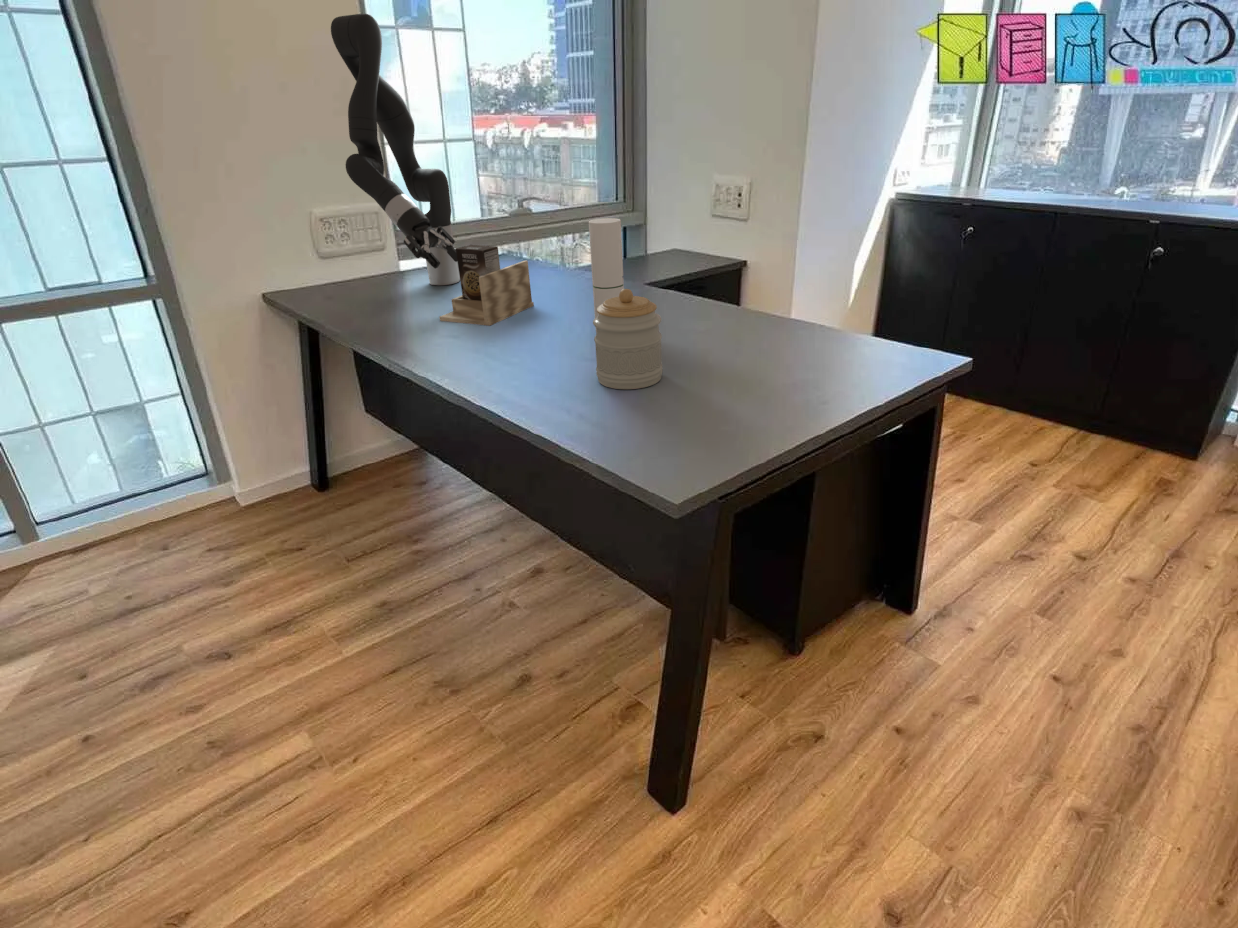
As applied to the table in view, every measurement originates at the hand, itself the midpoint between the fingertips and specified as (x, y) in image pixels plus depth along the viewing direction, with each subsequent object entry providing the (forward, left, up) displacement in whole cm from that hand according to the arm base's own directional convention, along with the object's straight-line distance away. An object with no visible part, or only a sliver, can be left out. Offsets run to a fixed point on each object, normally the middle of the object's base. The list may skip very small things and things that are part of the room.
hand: (448, 262), depth 191 cm
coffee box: (+1, +10, -12) cm, 16 cm away
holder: (0, +11, -13) cm, 17 cm away
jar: (+32, +69, -13) cm, 77 cm away
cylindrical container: (+4, +50, -13) cm, 52 cm away
